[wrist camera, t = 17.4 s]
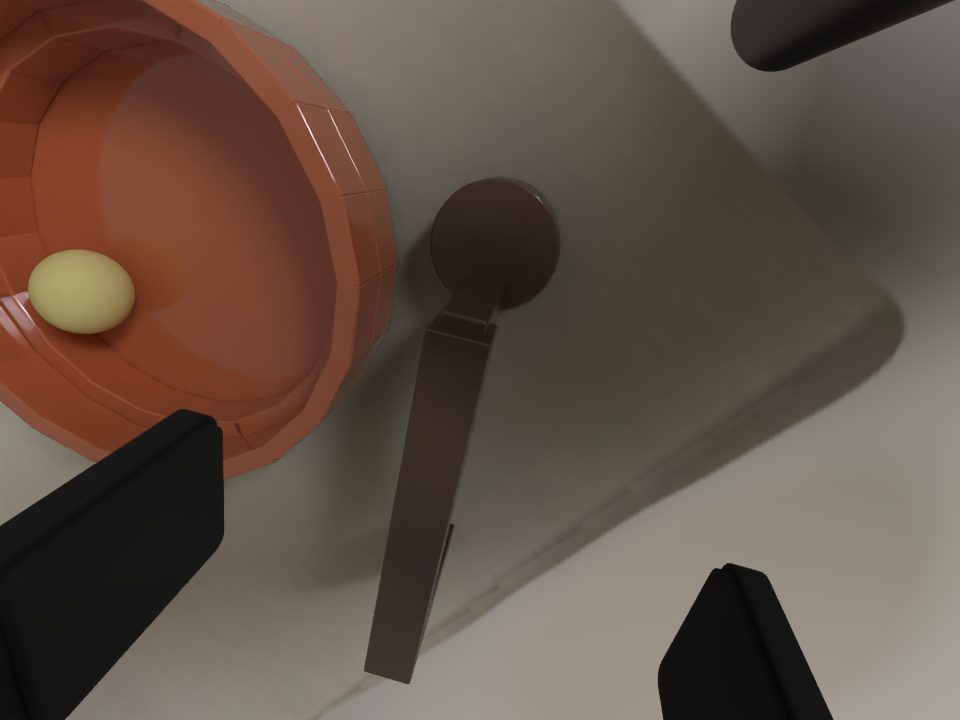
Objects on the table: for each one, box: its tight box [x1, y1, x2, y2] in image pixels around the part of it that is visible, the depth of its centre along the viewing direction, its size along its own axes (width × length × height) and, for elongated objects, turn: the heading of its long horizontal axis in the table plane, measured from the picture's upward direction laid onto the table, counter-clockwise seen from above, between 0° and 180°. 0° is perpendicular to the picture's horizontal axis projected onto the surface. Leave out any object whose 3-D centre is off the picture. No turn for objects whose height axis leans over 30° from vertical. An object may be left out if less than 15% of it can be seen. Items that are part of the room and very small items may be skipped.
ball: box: [28, 249, 135, 334], centre depth 18 cm, size 3×3×3 cm
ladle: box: [364, 177, 560, 684], centre depth 16 cm, size 16×4×6 cm, turn 168°
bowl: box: [0, 0, 398, 479], centre depth 17 cm, size 15×15×4 cm
